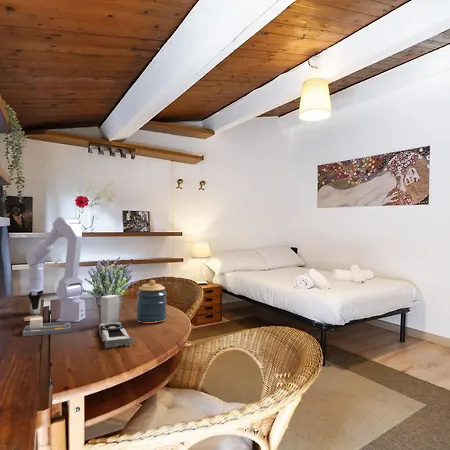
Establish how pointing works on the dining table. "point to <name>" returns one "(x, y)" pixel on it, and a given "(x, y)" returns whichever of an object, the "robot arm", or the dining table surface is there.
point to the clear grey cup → (36, 311)
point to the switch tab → (36, 322)
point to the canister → (151, 302)
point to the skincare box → (109, 309)
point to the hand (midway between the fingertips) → (35, 308)
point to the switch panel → (48, 329)
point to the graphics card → (114, 335)
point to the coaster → (31, 317)
